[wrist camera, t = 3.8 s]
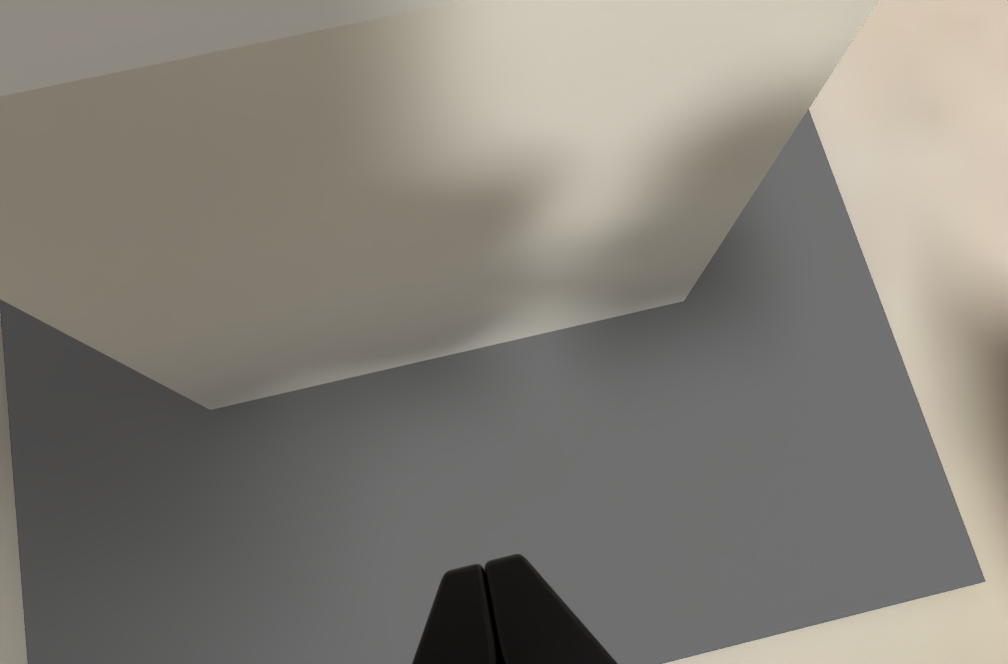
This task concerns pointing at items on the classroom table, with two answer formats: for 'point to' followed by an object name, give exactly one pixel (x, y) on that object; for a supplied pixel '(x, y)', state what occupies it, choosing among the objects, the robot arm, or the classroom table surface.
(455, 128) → the picture tile
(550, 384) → the felt mat
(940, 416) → the classroom table surface
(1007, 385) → the classroom table surface
